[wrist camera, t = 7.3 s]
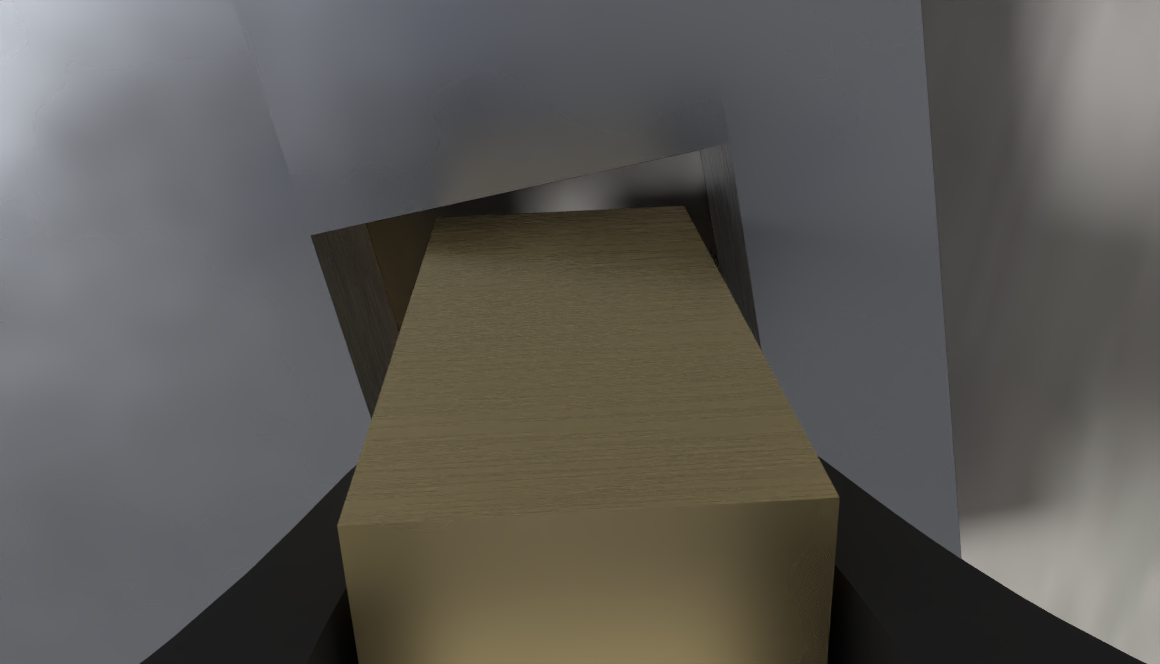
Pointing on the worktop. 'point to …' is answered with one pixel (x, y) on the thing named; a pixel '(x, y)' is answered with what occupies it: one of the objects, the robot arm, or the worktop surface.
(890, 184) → the peg hole base
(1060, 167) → the worktop surface
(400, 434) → the tan wooden block
